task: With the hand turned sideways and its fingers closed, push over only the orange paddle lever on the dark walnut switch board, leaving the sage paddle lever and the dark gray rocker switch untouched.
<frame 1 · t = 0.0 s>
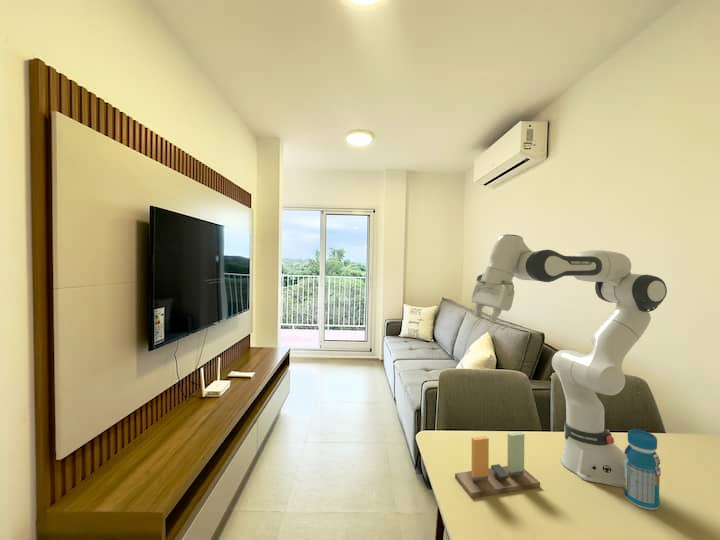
hand: (484, 319, 113), 52 cm above the table, tool tilted 20°, fingers open, 8 cm apart
sage paddle lever: (515, 454, 111), point 8 cm above the table, hinge at 0.0°
dark gray rocker switch: (499, 473, 110), point 3 cm above the table, hinge at -10.0°
beverage bottle: (641, 501, 101), on the table
walnut switch board: (496, 482, 110), on the table
orange paddle lever: (480, 458, 108), point 8 cm above the table, hinge at 0.0°
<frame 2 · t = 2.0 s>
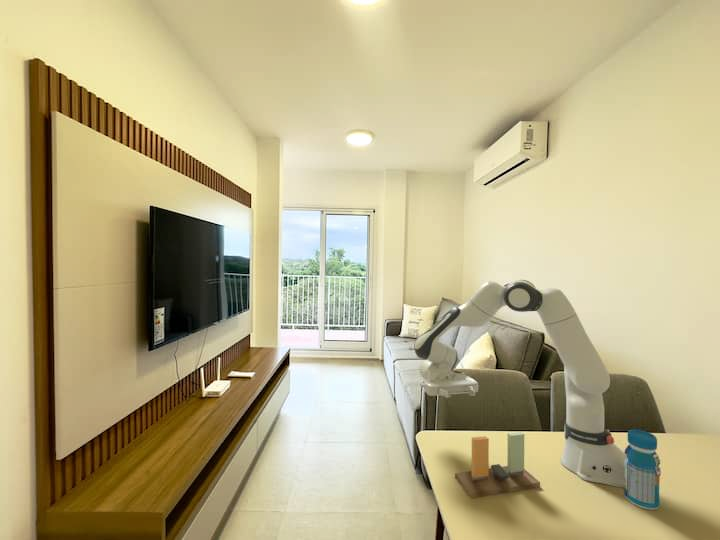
hand: (461, 394, 120), 25 cm above the table, tool horizontal, fingers open, 8 cm apart
nothing on the table moved.
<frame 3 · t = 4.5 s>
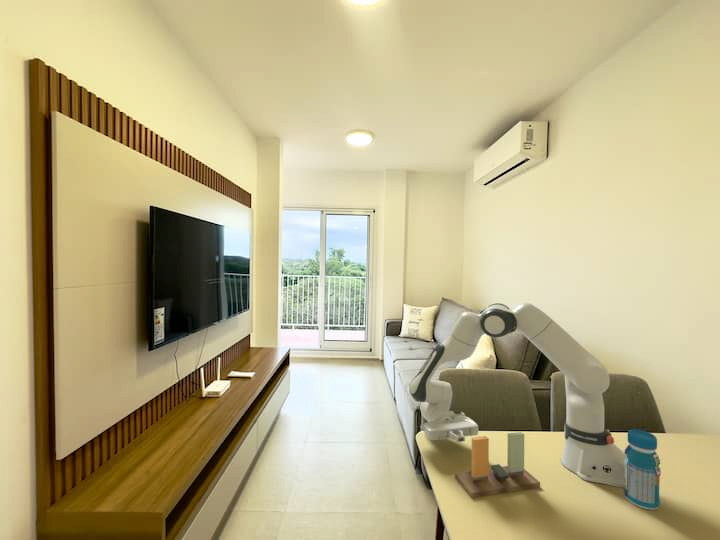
hand: (461, 439, 120), 9 cm above the table, tool horizontal, fingers closed
nothing on the table moved.
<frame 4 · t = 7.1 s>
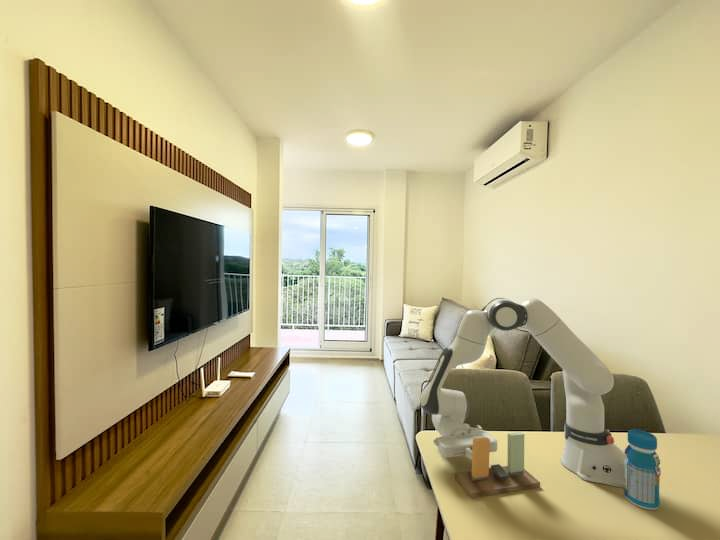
hand: (479, 457, 109), 8 cm above the table, tool horizontal, fingers closed, pressing on orange paddle lever
orange paddle lever: (480, 459, 108), point 8 cm above the table, hinge at 3.2°, touching gripper
everything else where it was.
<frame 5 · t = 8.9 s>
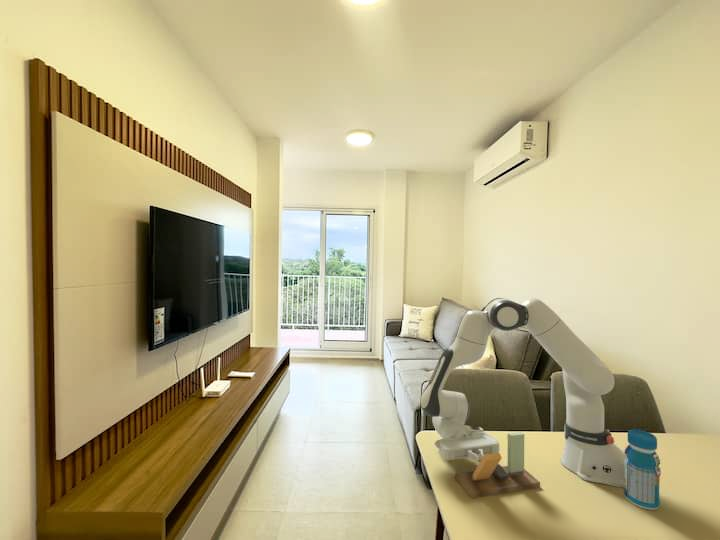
hand: (481, 460, 107), 9 cm above the table, tool horizontal, fingers closed
orange paddle lever: (485, 467, 105), point 7 cm above the table, hinge at 33.0°
everything else where it was.
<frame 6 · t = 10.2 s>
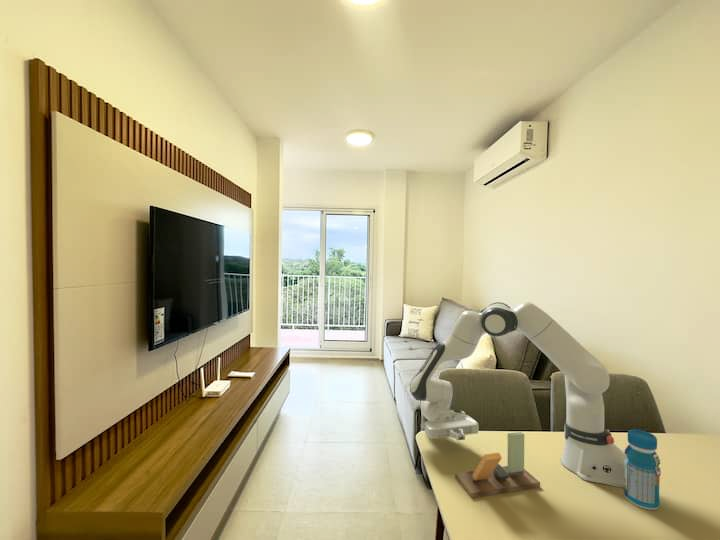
hand: (461, 438, 120), 9 cm above the table, tool horizontal, fingers closed
nothing on the table moved.
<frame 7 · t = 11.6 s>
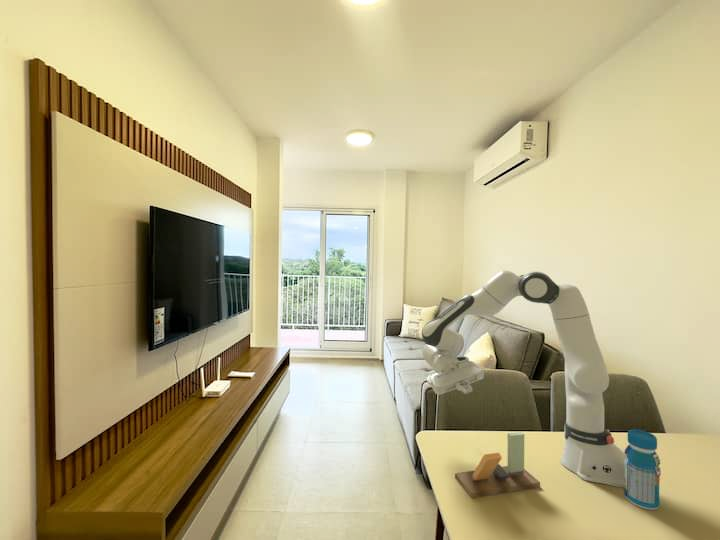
hand: (468, 390, 121), 26 cm above the table, tool tilted 75°, fingers closed
nothing on the table moved.
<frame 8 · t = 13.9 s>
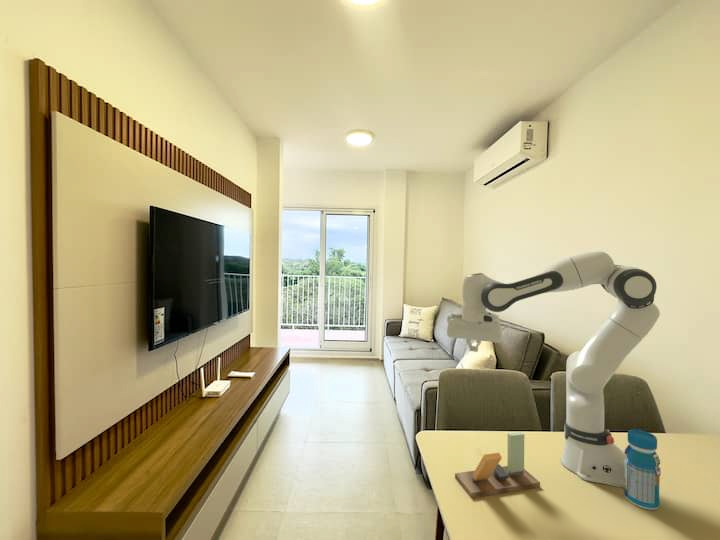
hand: (473, 351, 131), 37 cm above the table, tool pointing down, fingers closed
nothing on the table moved.
at the end: orange paddle lever at +33° (first picture: +0°); sage paddle lever at +0° (first picture: +0°); dark gray rocker switch at -10° (first picture: -10°) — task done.
